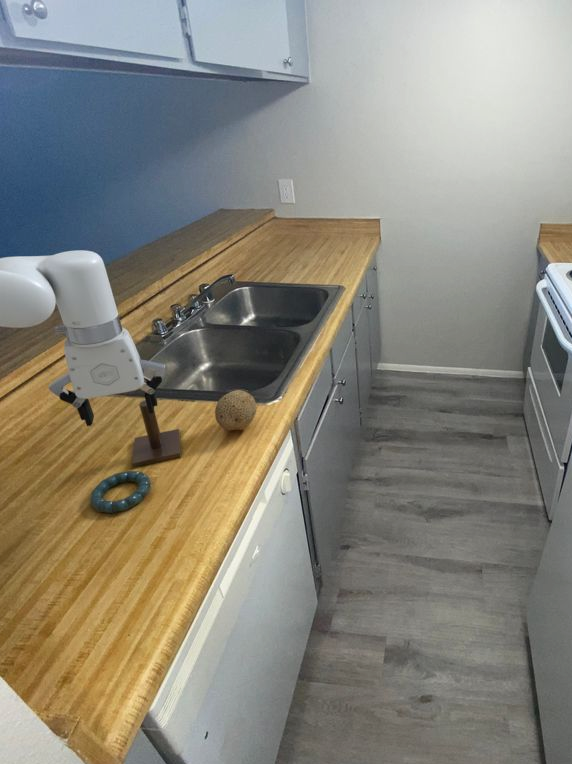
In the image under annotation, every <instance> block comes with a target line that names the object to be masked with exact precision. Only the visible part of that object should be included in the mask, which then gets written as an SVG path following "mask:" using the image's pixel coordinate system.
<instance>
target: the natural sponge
mask: <svg viewBox="0 0 572 764" xmlns="http://www.w3.org/2000/svg"><path fill="white" fill-rule="evenodd" d="M257 408H258V407H257V403H256V399H255V398H254V396H253V395H252V394H250V393H249V392H247V391H244V390H240V389H236V390H233V391H232V390H231V391H229V392H228V393H226V394H225V395H223V396H222V397H221V398H220V399H218V401H217V403H216V405H215V409H214V417H215V421H216V423H217V424H218V425H219V426H220V427H221V428H222V429H224V430H226V431H233V430H236V431H241V430H245V429H247V428H248V427H249V426H250V424H251V423H252V422H253V420H254V418H255V417H256V413H257Z"/></svg>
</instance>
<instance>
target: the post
mask: <svg viewBox="0 0 572 764" xmlns="http://www.w3.org/2000/svg"><path fill="white" fill-rule="evenodd" d="M138 405H139V406H138V407H139V410H140V412H141V413H140V414H141V416H142V421H143V425H144V428H145V432H146V435H142V436H137V437H134V441H133V451H132V462H131V464H132V467H133V468H139V467H142V466H148V465H151V464H156V463H161V462H165V461H170V460H174V459H179V458H182V453H181V452H182V451H181V432H180V429H179V428H176V429H171V430H167V431H162V432H161V430H160V427H159V422H158V419H157V415H156V411H155V410H154V413H152V414H151V413H149V410H148V407H147V403H146V400H142V401H140V402H139V404H138Z"/></svg>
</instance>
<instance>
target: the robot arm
mask: <svg viewBox="0 0 572 764" xmlns="http://www.w3.org/2000/svg"><path fill="white" fill-rule="evenodd" d="M115 301H116V300H115V297H114V294H113V290H112V287H111V284H110V280H109V276H108V273H107V269H106V266H105V263H104V260H103V258H102V257H101V256H100V254H98V253H97V252H95V251H91V250H84V249H83V250H81V249H80V250H79V249H77V250H68V251H61V252H58V253H55V254H52V255H37V256H36V255H32V256H30V255H29V256H28V255H27V256H26V255H25V256H24V255H23V256H22V255H21V256H19V255H17V256H6V257H0V327H1V328H12V329H23V328H31V327H34V326H38V325H40V324H42V323H44V322H46V321H47V320H48V319H49V318H50V317H51V316H52V314H54V313H53V312H54V311H55V308H56V306H57V309H58V312H59V314H60V317H61V320H62V324H61V325H59V326H55V327H54V328H53V329H54V330H53V331H54V334H55V336H64V337H65V338H66V340H65V341H64V343H63V347H64V348H63V350H64V357H65V362H66V366H67V373H64V374H63V375H61V376H59V377H58V378H57V379H55V380H54V381H52V382H50V384H49V386H48V390H49V391H50V392H51V393H53V394H54V395H55V396H57V397H58V398H59V399H60V400H61V401H63V402H65V403H68V404H70V405H72V406H73V408H75V409H76V410H77V412H78V415H79V417H80V420H81V421H84V422H85V424H86V427H91V426H92V425H93V422H94V418H95V414H94V411H93V409H92V405H91V402H90V400H89V399H96V398H102V397H107V396H113V395H118V394H119V395H120V394H124V393H129V392H134V391H137V390H141V391H143V392H144V399H145V400H146V403H147V407H148V410H149V413H151V414H152V413H154V411H155V407H157V406H158V399H157V396H156V392H155V391H156V390H157V388H158V387H159V386H160V385H161V384H162V381H163V379H164V377H165V374H166V371H167V365H166V364H163V363H160V362H156V361H151V360H146V359H141V357H140V354H139V351H138V349H137V347H136V344H135V342H134V340H133V337H132V336H131V335H130V333H129V331H128V329H127V328H123V325H122V322H121V318H120V315H119V312H118V308H117V305H116V304H117V303H116V302H115ZM145 371H149V372H154V373H155V374H154V376H153V377H152V378H149V377H147V376H145ZM70 383H71V386H72V389H73V391H71V390H69V389H67V388H66V386H67V385H68V384H70ZM145 400H144V401H145Z"/></svg>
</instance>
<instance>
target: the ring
mask: <svg viewBox="0 0 572 764" xmlns="http://www.w3.org/2000/svg"><path fill="white" fill-rule="evenodd" d="M126 482H132V483H136V484H137V486H138V488H137V489H136V490H135V491H134V492H133V493H132V494H130V495H128V496H126V497H125V498H122V499H118V500H114V501H112V500H106V499H105V498H104V496H105V493H106V492H107V491H108V490H109V489H111V488H113V487H114V486H116V485H119V484H123V483H126ZM150 491H151V478H150V477H149V476H148V475H147V474H145V473H144V472H142V471H137V470H126V471H121V472H117V473H114V474H112V475H110V476H108V477H106V478H104V479H102V480H101V481H100V482H99V483H97V485H96V486H95V487H94V488H93V489H92V491H91V492H90V499H89V504H90V505H91V506H92V507H93V508H94V509H95V510H96V511H97V512H99V513H109V514H114V513H119V512H122V511H126V510H127V511H128V510H129V509H131V508H132V507H135V506H136V505H138V504H139V503H141V502H143V500H144V498H145V497H146V496H147V495H148V494H149V493H150Z"/></svg>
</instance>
